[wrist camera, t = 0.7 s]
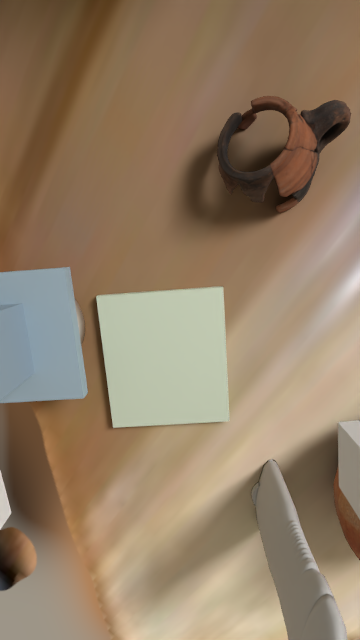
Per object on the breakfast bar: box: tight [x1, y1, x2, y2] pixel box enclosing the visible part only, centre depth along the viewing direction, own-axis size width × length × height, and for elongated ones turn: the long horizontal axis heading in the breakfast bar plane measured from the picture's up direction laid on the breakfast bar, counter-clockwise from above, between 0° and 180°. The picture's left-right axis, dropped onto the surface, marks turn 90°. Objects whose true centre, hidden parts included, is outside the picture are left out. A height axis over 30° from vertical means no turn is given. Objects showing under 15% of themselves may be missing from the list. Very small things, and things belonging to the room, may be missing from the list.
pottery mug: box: [217, 96, 351, 213], centre depth 31 cm, size 12×10×8 cm
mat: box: [96, 286, 229, 428], centre depth 38 cm, size 16×14×1 cm
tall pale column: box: [251, 460, 347, 640], centre depth 31 cm, size 11×4×22 cm, turn 176°
